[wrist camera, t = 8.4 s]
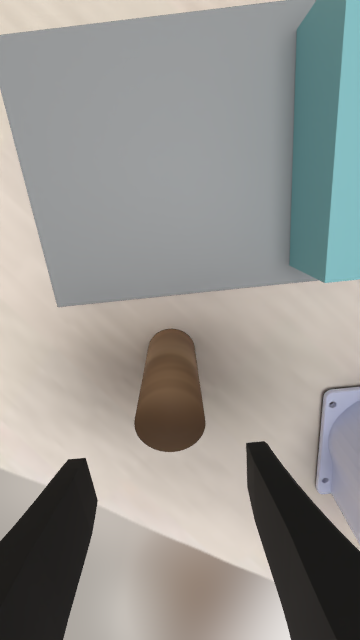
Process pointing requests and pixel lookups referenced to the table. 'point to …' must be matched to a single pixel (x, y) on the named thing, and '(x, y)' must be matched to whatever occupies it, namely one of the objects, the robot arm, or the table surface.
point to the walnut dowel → (170, 394)
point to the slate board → (159, 149)
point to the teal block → (327, 143)
